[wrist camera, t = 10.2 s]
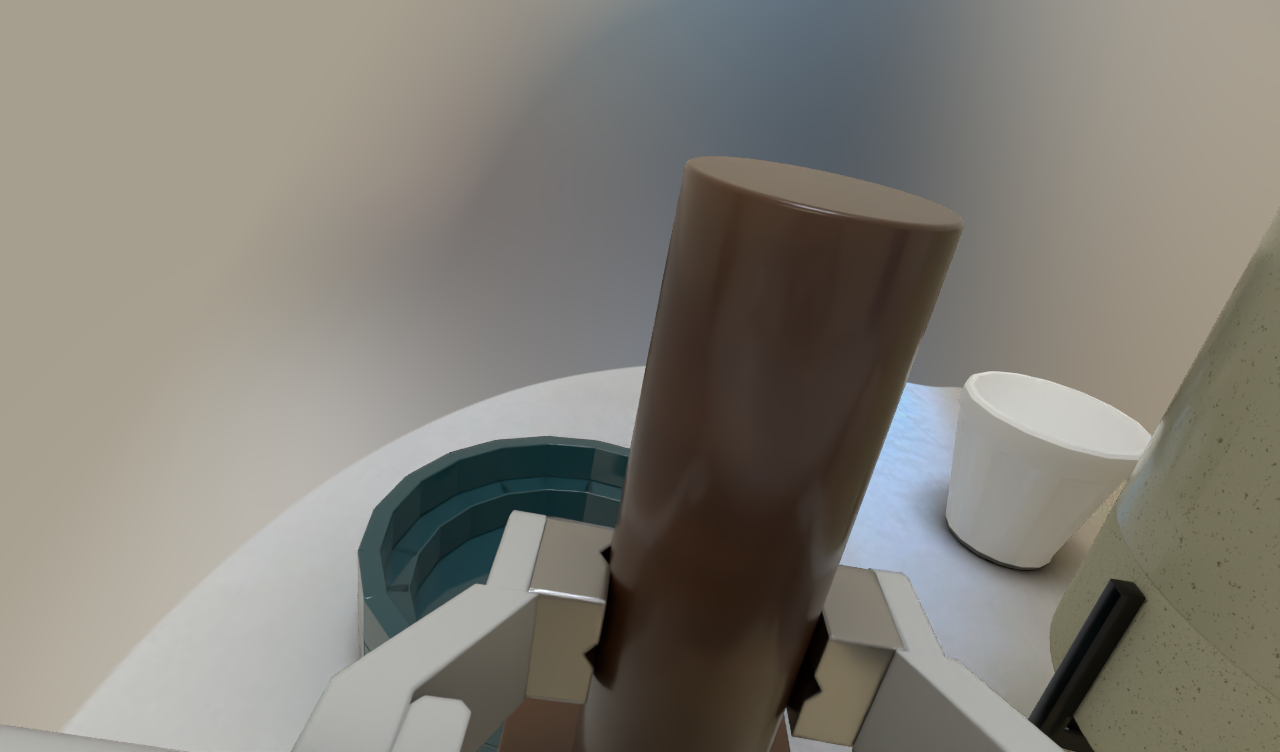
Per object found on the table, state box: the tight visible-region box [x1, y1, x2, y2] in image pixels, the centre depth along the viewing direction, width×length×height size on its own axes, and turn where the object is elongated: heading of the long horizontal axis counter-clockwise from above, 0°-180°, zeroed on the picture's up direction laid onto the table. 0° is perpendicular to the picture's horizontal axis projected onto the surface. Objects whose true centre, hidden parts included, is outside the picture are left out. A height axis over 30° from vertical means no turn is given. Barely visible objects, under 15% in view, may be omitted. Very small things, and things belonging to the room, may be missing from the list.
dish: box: [358, 436, 630, 752], centre depth 30 cm, size 17×17×5 cm
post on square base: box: [497, 156, 964, 752], centre depth 10 cm, size 5×5×14 cm
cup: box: [946, 371, 1152, 570], centre depth 42 cm, size 10×10×9 cm
